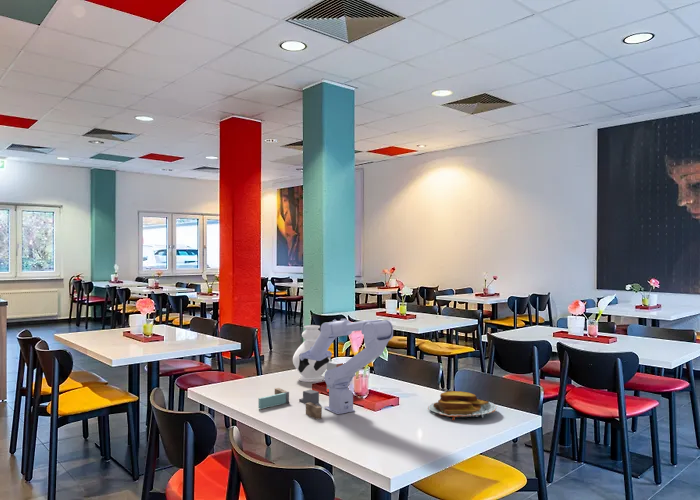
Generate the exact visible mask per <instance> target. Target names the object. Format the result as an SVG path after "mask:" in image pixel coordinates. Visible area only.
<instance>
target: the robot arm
mask: <svg viewBox="0 0 700 500" xmlns="http://www.w3.org/2000/svg"><path fill="white" fill-rule="evenodd" d="M319 331H320V332H321V333H320V335H319V337H318V338H317V340H316V342H315V344H314V345H313V347H310V350H308V351H306V352H305V353H301V354H300V355H299V359H300V362H299V368H298V370H299V371H300V373H301V372H303V370H304V369H305V368H306V367H307V366H308V365H310V364H309V362H308V359H311V360H316V362H315V364H314V369H315V370H316V371H317V370H318V369H319V368H320V367H322V366H323V365H324V364H326V363H328V362H329V359H328V358H332V356H333V354H332V352H331V350H329V349H330V347H331V345H332V343H333V342H334V340H335V339H337V338H338V337H342V336H343V337H344V336H350V335H352V333H353V332H358V331H361V334H362V335H363V341H364V346H365V347H364V348H363V349H362V350H360V352H358V353H356V354H355V355H354V356H352V357H351V358H350V359H349V360H346V361H347V362H346V363H344V364H343V365H341V366H339V367H336V368H334V369H332V370H327V369H326V370H325V372H324V375H323V376H324V378H325V380H324V382H325V384H326V386H327V385H328V387H329V393H328V406H325V407H324V409H325V410H327V411H329V412H332V413H334V414H336V415H341V414H348V413H352V412H355V411H356V410H355V408H354V394H353V391H352V390H351V389H350V390H349V388H348V386H349V385H351V382H352V381H353V378H355V376H356V373H357V372H359V371H360V370H361V369H364V367H366V366H367V365H369V364H370V363H372V362H373V361H375V360H376V359H378V358H379V357H380V356H381V355H383V352H384V351H385V349H386V347H387V345H388V343H389V341H390V340H392V339H393V337H394V327H393V324H392V322H391V321H390V320H389V319H388V320H387V319H385V320H382V319H365V320H360V321H354V322H351V321H350V320H348V319H346V318H340V320H337V319H333V320H332V321H329V322H323V323H322V324H321V325H320V328H319ZM298 370H297V371H298ZM300 373H299V374H300Z"/></svg>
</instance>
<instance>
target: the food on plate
mask: <svg viewBox="0 0 700 500" xmlns="http://www.w3.org/2000/svg"><path fill="white" fill-rule="evenodd" d="M439 396H440V398H439V399H438V401H436V402H432V403H431V404H430V405H428V406H427V409H428V410H430V411H432V412H434V413H437V414H439V415H441V416H446V417H452V419H451V421H455V420H456V419H455V418H469V417H479V416H481V418H484V416H486V414H487V415H489V414H491V413H492V414H493V413H494V412H496V409H497V407H498V406H497V405H496V404H495V403H493V402H490V401H487V400H483V399H478V397H477V395H476V394H475V393H471V392H468V391H460V390H459V391H457V390H450V391H445V392H444V391H443V392H442V393H440V395H439Z"/></svg>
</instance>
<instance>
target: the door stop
mask: <svg viewBox="0 0 700 500" xmlns="http://www.w3.org/2000/svg"><path fill="white" fill-rule="evenodd" d="M319 401H320V391H317V390H313V389H308V390H303V391H302V397H301V398H299V399H298V402H300V403H303V404H306V403H309V402H311V403H313V404H316V405H318V404H319V403H320V402H319Z"/></svg>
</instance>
